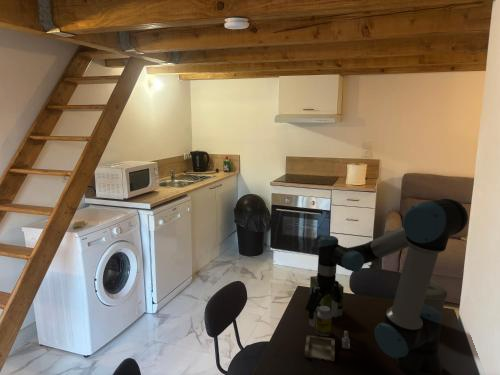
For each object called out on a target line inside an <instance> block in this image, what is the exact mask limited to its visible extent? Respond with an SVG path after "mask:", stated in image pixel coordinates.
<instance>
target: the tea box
mask: <svg viewBox="0 0 500 375" xmlns="http://www.w3.org/2000/svg"><path fill="white" fill-rule="evenodd" d="M309 283H310V285H309V296H310V295H311V293H312V287H315V288H316V287H318V282H317V275H314V276H313V275H312V276H310V282H309ZM344 288H345V287H344V286H343V285H342V284H341V283H339V289H340V292H341V295H342V300H341V302H340V303H338V309H337V317H341V316H343V305H344V301H343V300H344ZM333 290H334V289H333ZM334 293H335V292H334ZM319 294H320V293H319ZM320 295H321V294H320ZM332 301H334V300H333V299H332V297H331V296H330V294H328V295H326V296H324V298H322V299H321V301H320V303H319V304H318V306H317V308H316V310H315V312H316V313H318V312H319V307H320V306H327V307H329V308H330V313H331V306H332ZM332 318H335V317H334V316H332Z"/></svg>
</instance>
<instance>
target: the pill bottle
mask: <svg viewBox="0 0 500 375" xmlns="http://www.w3.org/2000/svg"><path fill="white" fill-rule="evenodd" d="M332 318H333V317H332V315H331V313H330V308H329V307H327V306H320V307H319V312H316V321H315V332H316V334H317V335H319V336H320V337H328V336H330V334H332V332H331V331H332Z"/></svg>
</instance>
